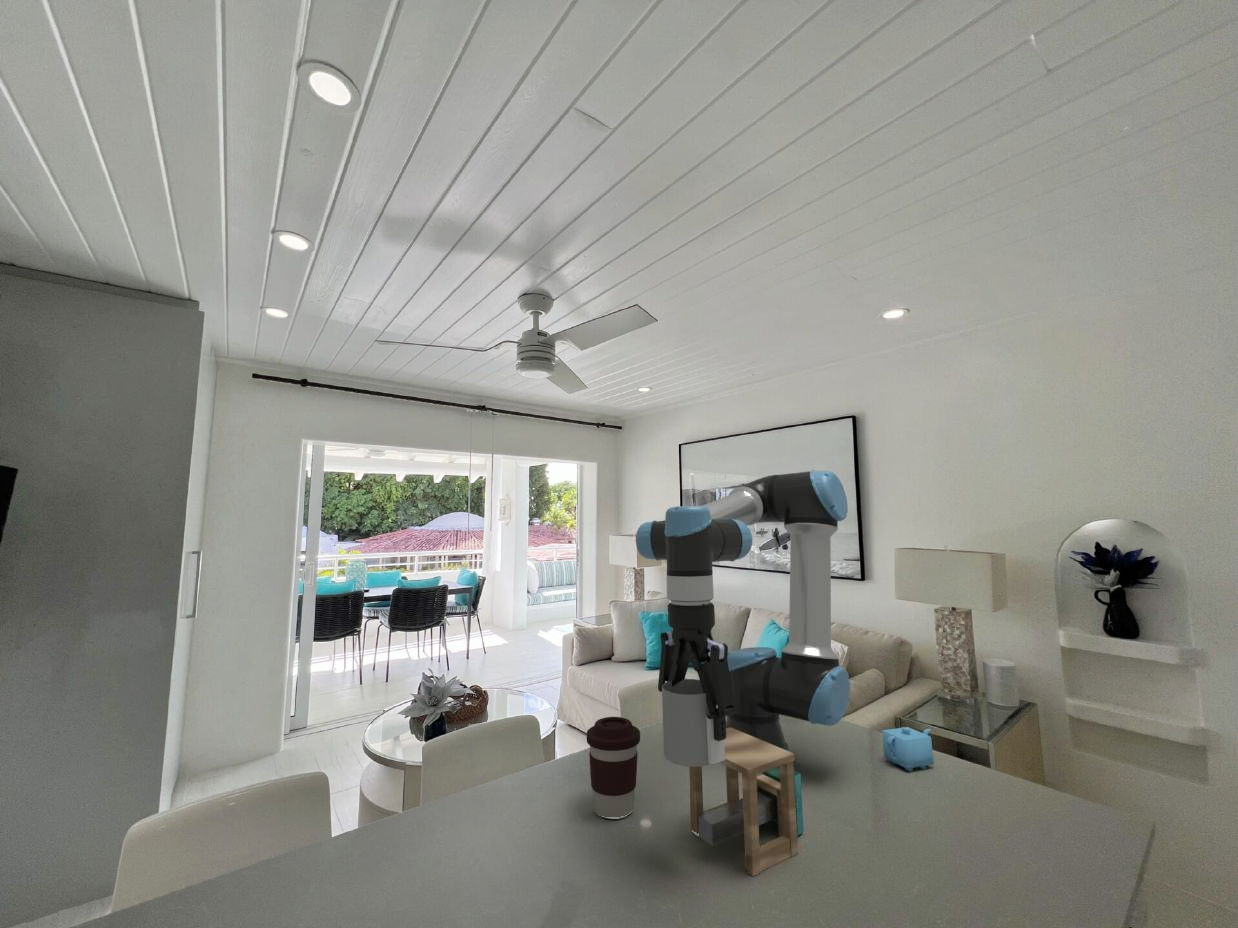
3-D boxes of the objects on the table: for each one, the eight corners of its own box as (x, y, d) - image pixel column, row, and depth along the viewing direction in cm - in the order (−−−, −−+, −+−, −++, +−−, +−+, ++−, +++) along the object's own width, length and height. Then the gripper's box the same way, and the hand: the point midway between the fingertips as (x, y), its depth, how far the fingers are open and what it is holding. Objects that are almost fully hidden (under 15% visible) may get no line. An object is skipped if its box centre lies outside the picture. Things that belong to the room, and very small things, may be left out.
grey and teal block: (766, 811, 91) (763, 757, 92) (803, 832, 84) (800, 773, 86) (689, 844, 81) (687, 783, 82) (725, 870, 74) (722, 804, 76)
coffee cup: (649, 803, 94) (647, 717, 97) (627, 830, 86) (626, 735, 88) (601, 792, 99) (601, 710, 101) (576, 817, 90) (576, 727, 92)
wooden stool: (689, 832, 85) (687, 739, 87) (745, 809, 92) (741, 724, 94) (753, 877, 73) (748, 769, 76) (811, 847, 80) (805, 749, 83)
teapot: (922, 755, 115) (919, 719, 116) (946, 766, 109) (942, 729, 110) (878, 762, 111) (876, 725, 112) (901, 774, 105) (898, 735, 107)
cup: (714, 769, 73) (711, 696, 75) (659, 762, 76) (656, 692, 77) (721, 745, 81) (718, 680, 83) (670, 740, 84) (668, 677, 85)
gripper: (756, 606, 75) (765, 770, 72) (668, 593, 93) (672, 724, 90) (719, 611, 71) (727, 784, 68) (634, 597, 89) (637, 734, 86)
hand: (696, 750), depth 79 cm, fingers closed on cup, 8 cm apart
